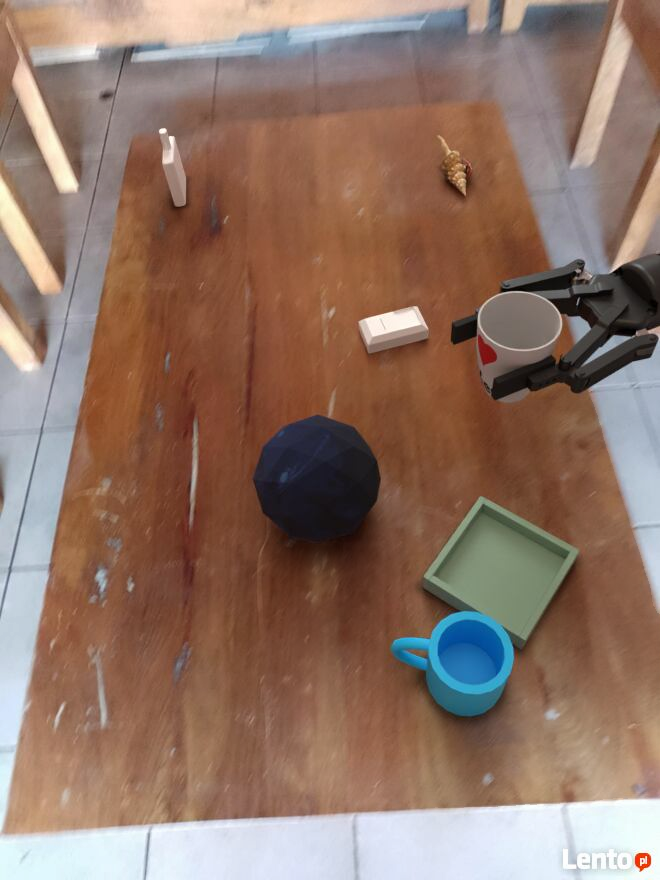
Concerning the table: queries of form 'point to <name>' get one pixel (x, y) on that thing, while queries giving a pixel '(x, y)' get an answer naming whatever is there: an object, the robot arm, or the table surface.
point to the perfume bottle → (173, 168)
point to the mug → (462, 661)
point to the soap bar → (393, 329)
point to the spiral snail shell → (455, 167)
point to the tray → (501, 569)
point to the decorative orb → (317, 479)
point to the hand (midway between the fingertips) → (473, 360)
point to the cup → (514, 336)
